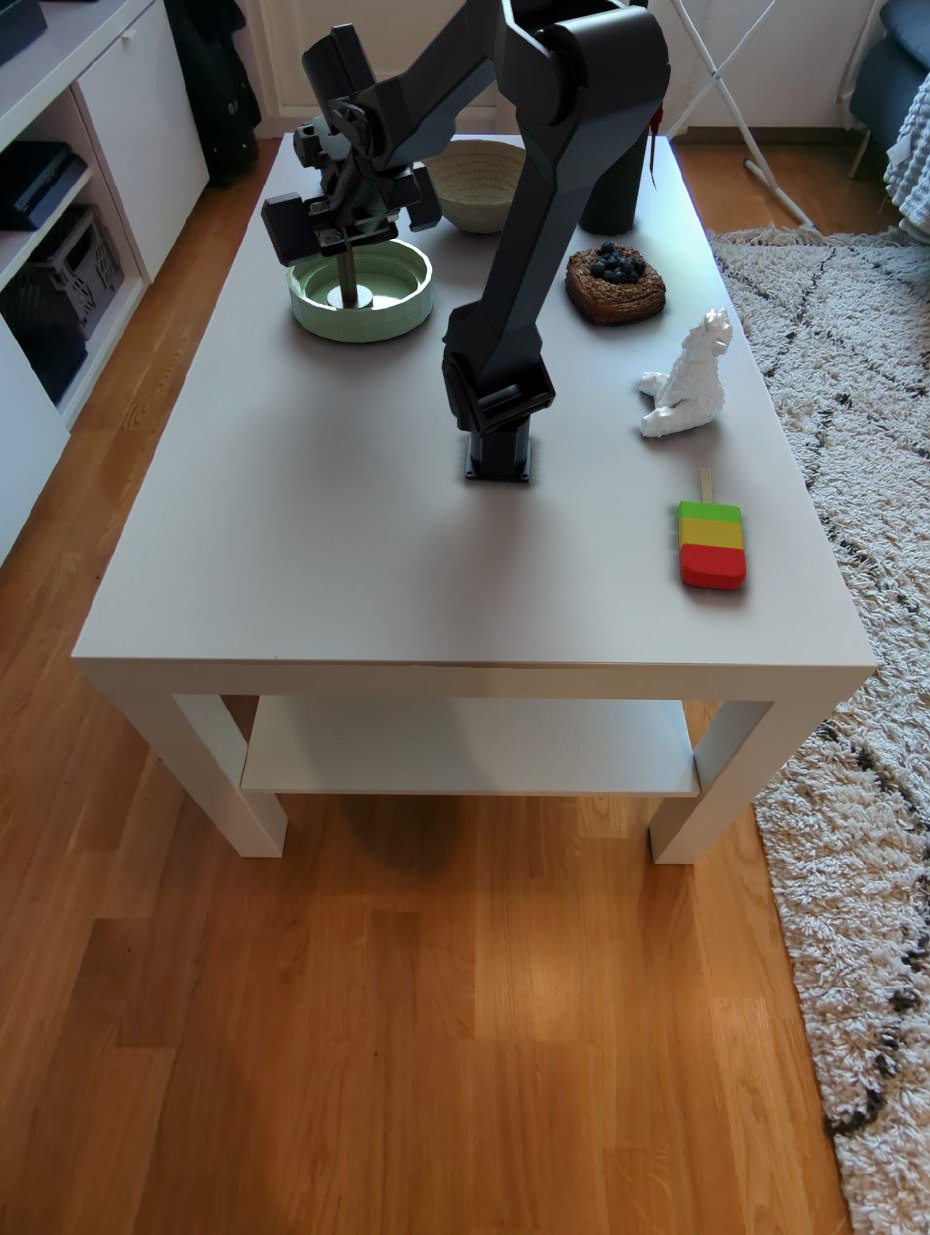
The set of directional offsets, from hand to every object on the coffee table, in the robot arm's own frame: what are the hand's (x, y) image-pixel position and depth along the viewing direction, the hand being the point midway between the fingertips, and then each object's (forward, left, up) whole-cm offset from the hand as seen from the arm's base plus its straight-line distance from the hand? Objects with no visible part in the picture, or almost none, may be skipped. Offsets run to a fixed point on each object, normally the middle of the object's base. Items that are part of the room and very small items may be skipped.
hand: (339, 245), depth 87 cm
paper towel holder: (-1, -1, -7) cm, 7 cm away
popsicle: (-35, -40, -8) cm, 54 cm away
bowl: (+21, -15, -8) cm, 27 cm away
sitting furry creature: (-18, -39, -8) cm, 44 cm away
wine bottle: (+24, -34, -8) cm, 42 cm away
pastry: (+4, -33, -8) cm, 34 cm away
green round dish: (0, -2, -8) cm, 8 cm away
